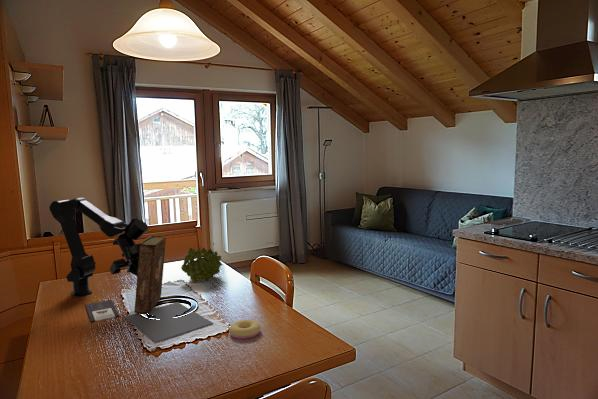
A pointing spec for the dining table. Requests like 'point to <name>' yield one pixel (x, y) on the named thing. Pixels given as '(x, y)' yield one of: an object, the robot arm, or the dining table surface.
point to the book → (149, 274)
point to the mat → (168, 322)
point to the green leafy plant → (201, 264)
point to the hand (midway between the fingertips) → (145, 280)
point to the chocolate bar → (101, 310)
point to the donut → (244, 329)
